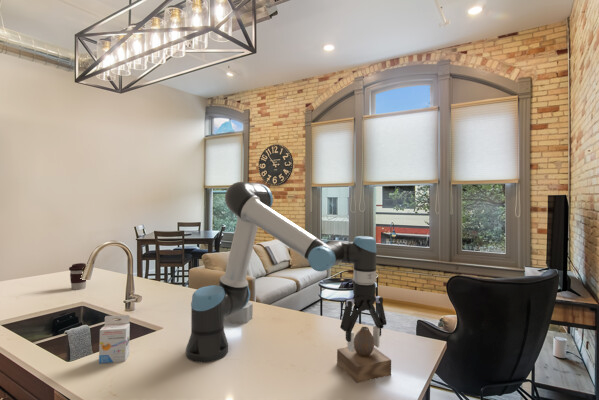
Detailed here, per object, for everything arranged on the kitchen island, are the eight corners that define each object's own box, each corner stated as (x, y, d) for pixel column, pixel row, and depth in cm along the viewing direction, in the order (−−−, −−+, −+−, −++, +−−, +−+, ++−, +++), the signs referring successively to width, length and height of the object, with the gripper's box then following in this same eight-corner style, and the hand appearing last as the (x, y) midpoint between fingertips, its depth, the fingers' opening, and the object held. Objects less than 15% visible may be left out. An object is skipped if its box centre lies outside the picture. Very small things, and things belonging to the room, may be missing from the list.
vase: (361, 359, 106) (363, 333, 106) (348, 350, 112) (350, 325, 112) (377, 356, 109) (379, 330, 109) (364, 347, 115) (366, 322, 115)
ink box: (98, 364, 111) (98, 321, 111) (103, 357, 116) (104, 315, 116) (125, 361, 113) (126, 319, 113) (129, 355, 118) (130, 314, 118)
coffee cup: (64, 290, 197) (64, 265, 197) (78, 285, 207) (78, 262, 207) (78, 291, 195) (79, 266, 195) (92, 286, 205) (92, 263, 205)
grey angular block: (244, 324, 148) (244, 305, 147) (219, 321, 152) (219, 302, 152) (254, 317, 157) (254, 299, 157) (231, 313, 161) (231, 296, 161)
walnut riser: (356, 382, 102) (357, 366, 102) (337, 363, 114) (337, 348, 114) (391, 375, 107) (391, 359, 107) (368, 356, 119) (368, 343, 119)
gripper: (341, 288, 103) (340, 358, 103) (398, 282, 111) (397, 347, 111) (330, 282, 110) (329, 348, 110) (384, 277, 118) (383, 338, 118)
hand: (363, 348), depth 110 cm, fingers open, 9 cm apart
